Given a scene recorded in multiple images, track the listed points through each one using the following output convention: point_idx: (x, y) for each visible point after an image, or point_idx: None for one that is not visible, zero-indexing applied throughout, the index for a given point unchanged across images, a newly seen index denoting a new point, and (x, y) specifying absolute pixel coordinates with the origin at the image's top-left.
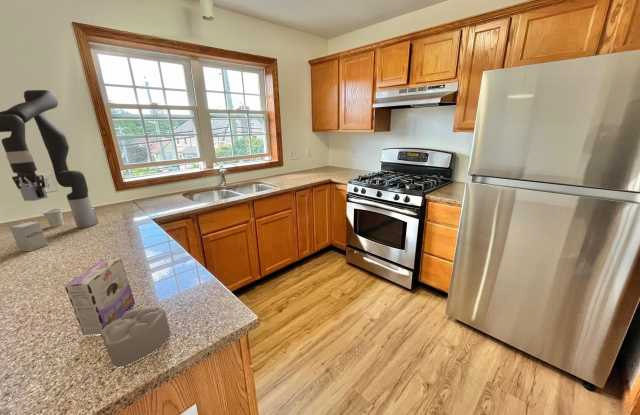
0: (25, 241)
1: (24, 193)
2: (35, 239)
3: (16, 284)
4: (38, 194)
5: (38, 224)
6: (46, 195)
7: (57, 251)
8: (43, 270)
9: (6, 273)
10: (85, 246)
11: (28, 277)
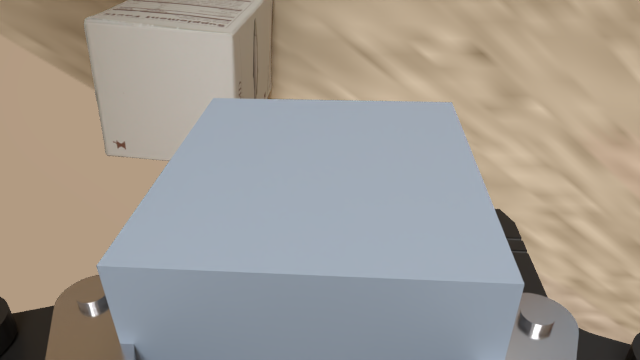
0: None
1: None
2: (262, 65)
3: None
4: None
5: (238, 40)
6: (458, 129)
7: (465, 83)
8: (598, 269)
9: None
10: (618, 4)
11: (581, 312)
